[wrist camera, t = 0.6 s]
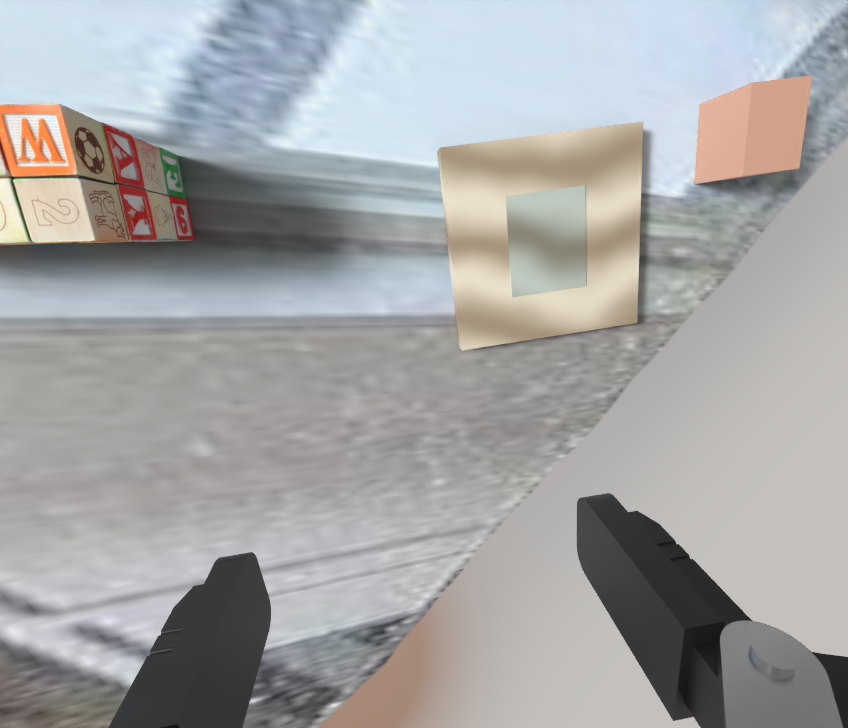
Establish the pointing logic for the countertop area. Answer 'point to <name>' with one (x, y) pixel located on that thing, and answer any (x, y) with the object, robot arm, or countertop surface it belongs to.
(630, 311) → the ash board
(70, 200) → the stack of blocks
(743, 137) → the terracotta brick
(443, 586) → the countertop surface
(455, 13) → the countertop surface
